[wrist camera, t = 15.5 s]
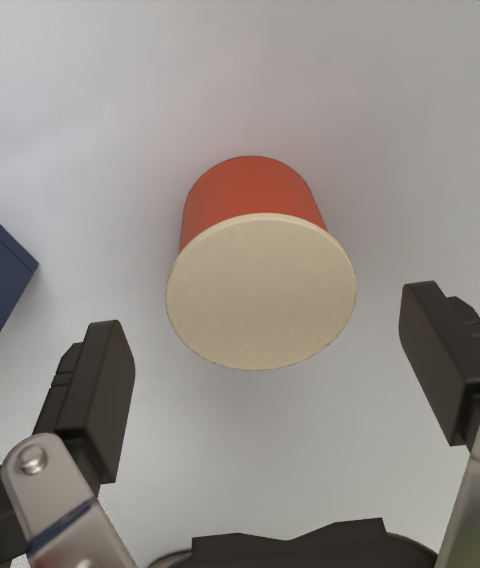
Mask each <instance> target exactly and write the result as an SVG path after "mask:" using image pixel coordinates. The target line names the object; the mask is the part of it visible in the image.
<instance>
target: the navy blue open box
mask: <svg viewBox="0 0 480 568" xmlns="http://www.w3.org/2000/svg"><path fill="white" fill-rule="evenodd" d="M38 265H39V264H38V262H37V261H36V260H35V259H34V258H33V257H32V256H31V255H30V254H29V253H28V252H27V251H26V250H25V249H24V248H23V247H22V246H21V245H20V244H19V243H18V242H17V241H16V240H15V239H14V238H13V237H12V236H11V235H10V234H9V233H8V232H7V231H6V230H5V229H4V228H3V227H2V226H1V225H0V332H1V330H2V328H3V326H4V325H5V323H6V321H7V319H8V318H9V316H10V314H11V312H12V311H13V309H14V307H15V305H16V304H17V302H18V300H19V298H20V297H21V295H22V293H23V291H24V290H25V288H26V286H27V285H28V283H29V281H30V279H31V278H32V276H33V274H34V272H35V270H36V269H37V267H38Z"/></svg>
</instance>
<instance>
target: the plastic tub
mask: <svg viewBox="0 0 480 568" xmlns="http://www.w3.org/2000/svg"><path fill="white" fill-rule="evenodd" d="M355 299H356V279H355V274H354V271H353V268H352V266H351V263H350V261H349V259H348V256H347V255H346V253H345V251H344V250H343V248H342V247H341V246H340V244H339V243H338V242H337V241H336V240H335V239H334V238H333V237H332V236H331V235H330V234H329V233H328V231H327V229H326V227H325V224H324V222H323V219H322V217H321V215H320V212H319V210H318V208H317V205H316V203H315V201H314V198H313V196H312V194H311V191H310V189H309V188H308V186H307V184H306V183H305V181H304V180H303V179H302V178H301V176H300V175H299V174H297V173H296V172H295V171H294V170H293V169H291V168H290V167H288V166H287V165H285V164H283V163H281V162H279V161H276V160H273V159H270V158H265V157H257V156H247V157H239V158H233V159H230V160H227V161H224V162H222V163H220V164H218V165H216V166H214V167H213V168H211V169H210V170H208V171H207V172H206V173H205V174H204V175H202V176H201V177H200V178H199V180H198V181H197V182H196V183H195V184H194V186H193V187H192V189H191V191H190V193H189V195H188V197H187V200H186V203H185V207H184V213H183V221H182V230H181V239H180V247H179V256H178V257H177V258H176V260H175V262H174V264H173V266H172V268H171V271H170V274H169V277H168V282H167V288H166V309H167V315H168V317H169V320H170V323H171V325H172V327H173V329H174V331H175V332H176V334H177V335H178V336H179V338H180V339H181V340H182V342H183V343H184V344H185V345H186V346H187V347H188V348H190V349H191V350H192V351H194V352H195V353H196V354H198V355H199V356H201V357H203V358H205V359H206V360H209V361H211V362H213V363H215V364H218V365H222V366H225V367H229V368H233V369H240V370H256V371H258V370H270V369H276V368H281V367H285V366H289V365H292V364H295V363H298V362H301V361H303V360H305V359H307V358H309V357H311V356H313V355H314V354H316V353H318V352H319V351H321V350H322V349H323V348H325V347H326V346H327V345H329V344H330V343H331V342H332V341H333V340H334V339H335V338H336V337H337V336H338V335H339V333H340V332H341V331H342V330H343V328H344V327H345V325H346V323H347V322H348V320H349V318H350V316H351V313H352V311H353V308H354V304H355Z"/></svg>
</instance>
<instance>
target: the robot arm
mask: <svg viewBox="0 0 480 568" xmlns="http://www.w3.org/2000/svg"><path fill="white" fill-rule="evenodd" d="M399 337H400V341H401V344H402V347H403V349H404V351H405V354H406V356H407V358H408V360H409V362H410V364H411V366H412V368H413V370H414V372H415V374H416V377H417V379H418V381H419V383H420V385H421V387H422V389H423V391H424V393H425V395H426V397H427V399H428V402H429V404H430V406H431V408H432V410H433V412H434V414H435V416H436V418H437V420H438V422H439V425H440V427H441V429H442V431H443V433H444V435H445V437H446V439H447V441H448V443H449V445H450V446H459V445H466V446H467V448H468V450H469V452H470V454H471V455H470V457H469V460H468V463H467V467H466V470H465V473H464V476H463V479H462V482H461V485H460V489H459V492H458V495H457V498H456V501H455V504H454V507H453V511H452V514H451V517H450V520H449V523H448V526H447V530H446V533H445V536H444V539H443V542H442V545H441V548H440V552H439V555H438V554H437V553H435V552H434V551H433V550H431V549H430V548H428V547H426V546H424V545H422V544H421V543H419V542H417V541H414V540H412V539H410V538H407V537H405V536H401V535H398V534H394V533H389V532H386V530H385V526H384V523H383V520H382V517H381V518H372V519H362V520H353V521H344V522H335V523H332V524H330V525H327V526H325V527H322V528H320V529H317V530H315V531H312V532H310V533H307V534H305V535H302V536H300V537H297V538H295V539H292V540H287V541H284V540H278V539H272V538H266V537H260V536H254V535H248V534H242V533H232V534H222V535H213V536H203V537H194V538H192V552H187V553H181V554H177V555H173V556H170V557H167V558H164V559H162V560H160V561H158V562H156V563H155V564H153V565H152V566H151V567H150V568H480V317H479V316H478V314H477V313H476V312H475V310H474V309H473V307H471V306H470V305H468V304H467V303H465V302H464V301H462V300H461V299H459V298H458V297H456V296H455V297H447V298H446V297H445V295H444V294H443V292H442V291H441V289H440V288H439V286H438V285H437V284H436V282H435V281H425V282H417V283H409V284H405V285H404V287H403V290H402V299H401V308H400V317H399ZM134 382H135V362H134V358H133V355H132V352H131V350H130V347H129V345H128V342H127V339H126V337H125V334H124V331H123V329H122V326H121V324H120V322H119V321H118V320H110V321H102V322H95V323H90V325H89V326H88V329H87V332H86V335H85V338H84V341H83V342H79V343H74V344H73V345H72V346H71V347H70V348H69V349H68V350H67V352H66V353H65V354H64V355H63V356H62V357H61V360H60V363H59V365H58V368H57V370H56V375H55V376H54V378H53V381H52V383H51V388H50V389H49V391H48V394H47V396H46V399H45V402H44V404H43V407H42V410H41V412H40V415H39V417H38V420H37V423H36V425H35V428H34V430H33V433H32V435H31V436H30V437H28V438H26V439H24V440H22V441H21V442H20V443H18V444H17V445H16V446H15V447H14V448H13V449H12V450H11V451H10V452H9V453H8V455H7V456H6V457H5V459H4V461H3V463H2V465H0V568H10V566H11V562H12V559H14V558H16V557H18V556H21V555H23V554H25V553H26V556H27V559H28V562H29V564H30V567H31V568H138V567H137V565H136V563H135V562H134V560H133V558H132V557H131V555H130V553H129V552H128V550H127V548H126V547H125V545H124V543H123V542H122V540H121V538H120V537H119V535H118V533H117V532H116V530H115V528H114V526H113V525H112V523H111V521H110V520H109V518H108V516H107V515H106V513H105V511H104V510H103V508H102V506H101V505H100V503H99V501H98V500H97V498H98V493H99V489H100V484H108V483H115V481H116V476H117V471H118V466H119V460H120V455H121V450H122V445H123V439H124V434H125V429H126V424H127V418H128V413H129V408H130V403H131V397H132V392H133V387H134Z"/></svg>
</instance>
